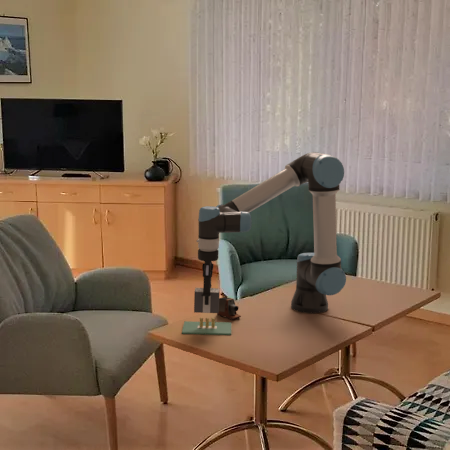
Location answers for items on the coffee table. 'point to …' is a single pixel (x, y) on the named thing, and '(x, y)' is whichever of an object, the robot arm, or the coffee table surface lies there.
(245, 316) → the coffee table surface
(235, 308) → the electronic device
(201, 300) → the block
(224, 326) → the header board
